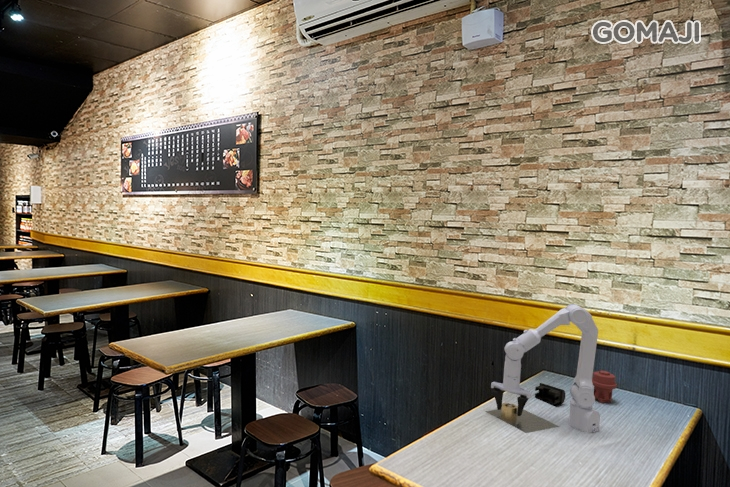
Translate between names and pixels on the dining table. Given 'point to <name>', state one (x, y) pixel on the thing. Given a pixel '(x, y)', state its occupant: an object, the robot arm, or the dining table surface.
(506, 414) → the bronze hub
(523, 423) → the shaft stand
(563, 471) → the dining table surface
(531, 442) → the dining table surface
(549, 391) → the end cap
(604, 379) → the mechanical component
